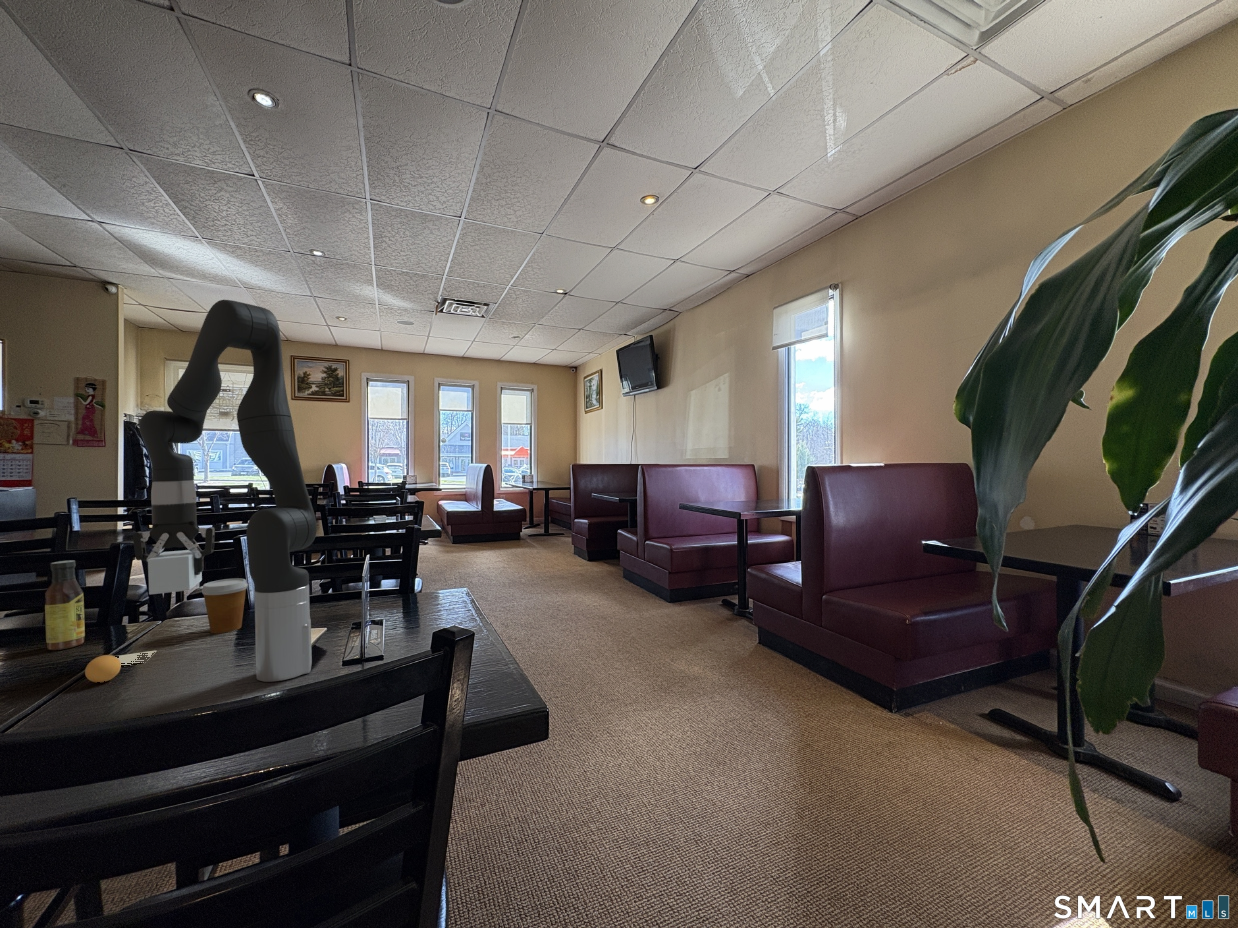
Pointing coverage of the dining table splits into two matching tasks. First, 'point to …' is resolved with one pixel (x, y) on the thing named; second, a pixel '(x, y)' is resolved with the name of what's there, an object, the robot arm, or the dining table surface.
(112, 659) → the brown egg
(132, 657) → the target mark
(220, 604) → the disposable coffee cup
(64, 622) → the sauce bottle
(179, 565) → the white angular block
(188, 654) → the dining table surface
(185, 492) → the robot arm
